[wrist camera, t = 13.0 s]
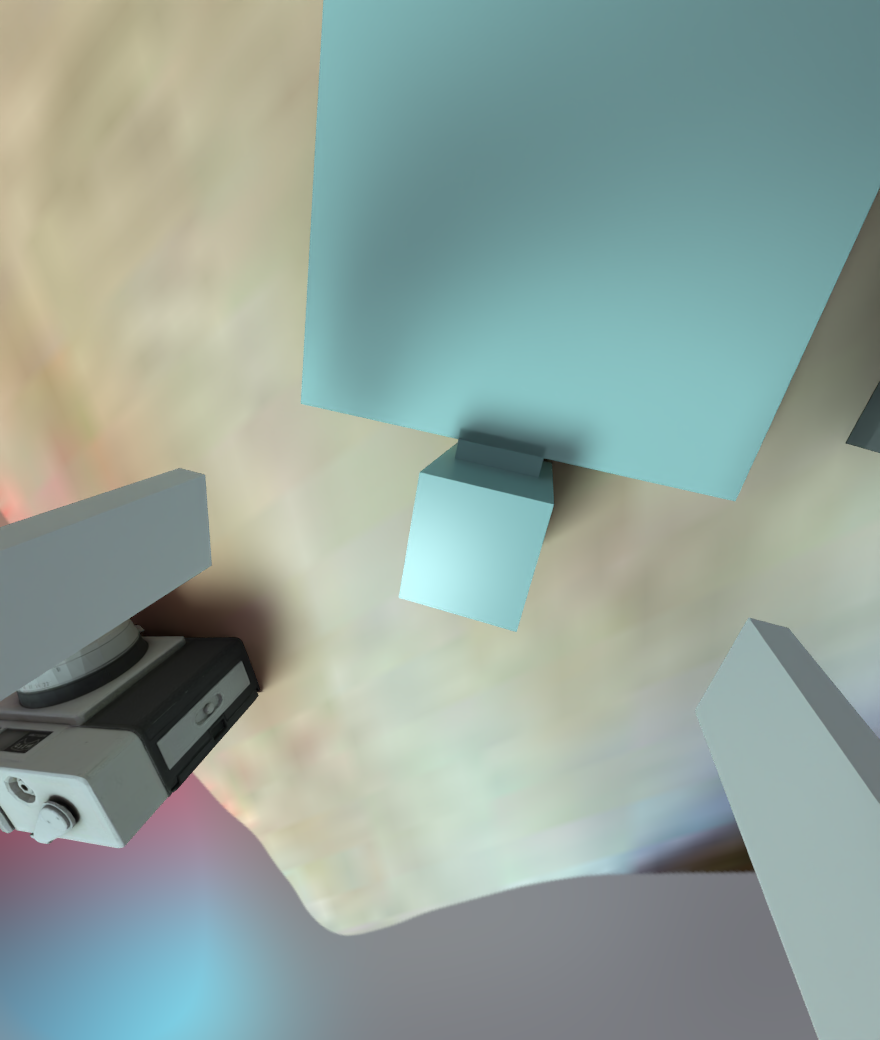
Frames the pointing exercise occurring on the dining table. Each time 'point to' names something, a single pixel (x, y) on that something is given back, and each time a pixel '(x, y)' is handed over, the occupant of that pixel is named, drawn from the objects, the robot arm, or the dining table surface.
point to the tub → (868, 425)
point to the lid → (576, 245)
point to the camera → (116, 732)
